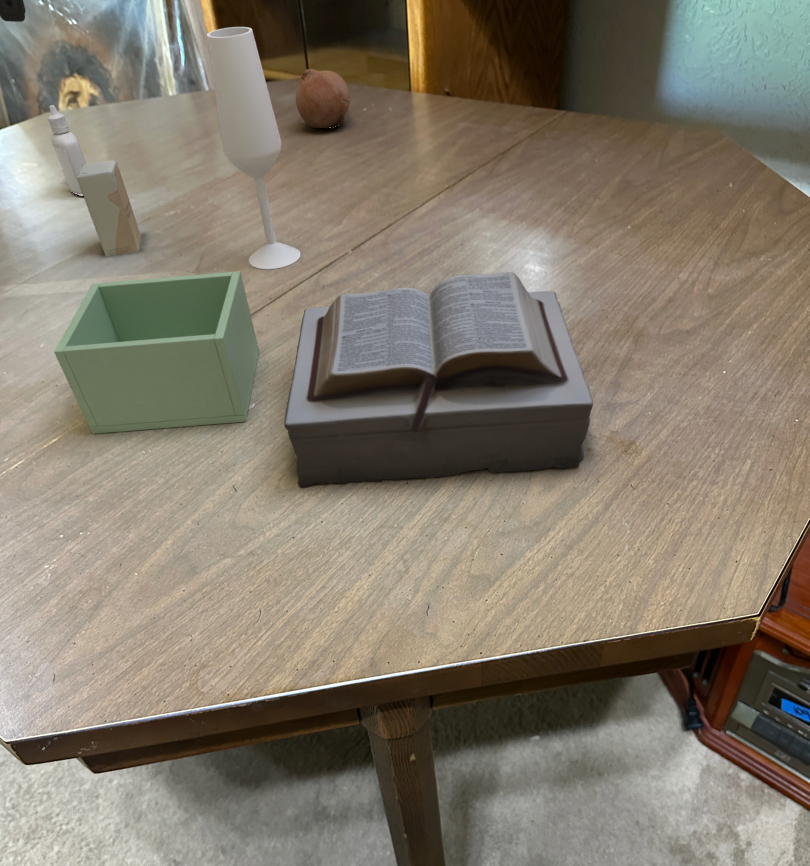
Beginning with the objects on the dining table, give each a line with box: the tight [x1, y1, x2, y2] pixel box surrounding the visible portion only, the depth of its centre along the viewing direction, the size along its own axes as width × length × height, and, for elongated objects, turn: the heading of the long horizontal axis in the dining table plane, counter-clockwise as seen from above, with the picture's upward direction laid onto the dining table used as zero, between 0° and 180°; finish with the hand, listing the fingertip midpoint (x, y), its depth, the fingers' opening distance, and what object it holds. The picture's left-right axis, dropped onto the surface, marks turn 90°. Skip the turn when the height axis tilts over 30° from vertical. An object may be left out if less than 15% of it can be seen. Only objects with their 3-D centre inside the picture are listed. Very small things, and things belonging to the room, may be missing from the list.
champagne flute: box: [206, 26, 301, 270], centre depth 83 cm, size 7×7×24 cm
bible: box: [283, 271, 594, 488], centre depth 63 cm, size 23×27×10 cm
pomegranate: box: [295, 68, 351, 129], centre depth 125 cm, size 10×9×10 cm
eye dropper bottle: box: [46, 104, 87, 194], centre depth 109 cm, size 4×6×12 cm
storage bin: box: [53, 270, 260, 435], centre depth 69 cm, size 15×13×9 cm
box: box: [77, 159, 142, 257], centre depth 91 cm, size 5×4×11 cm
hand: (14, 18), depth 72 cm, fingers open, 8 cm apart
